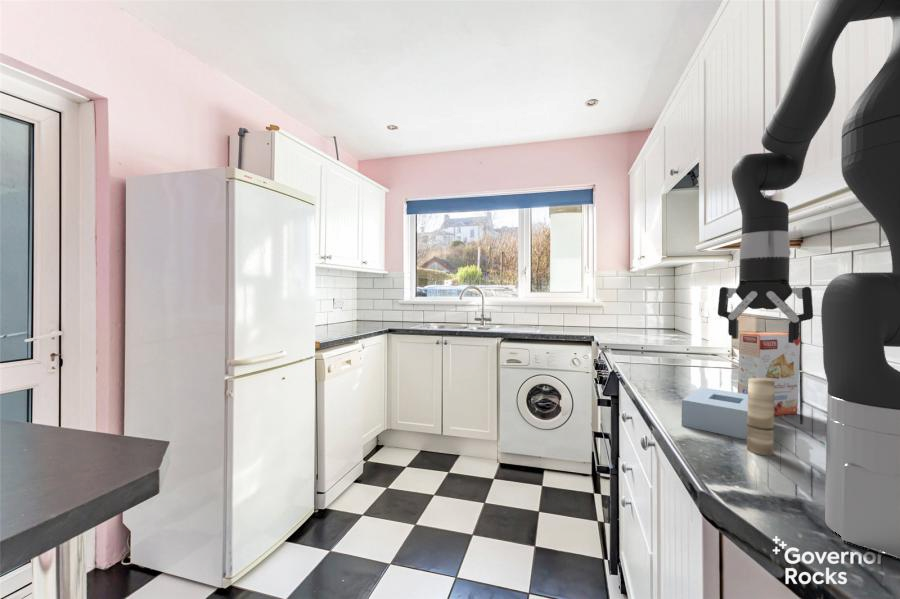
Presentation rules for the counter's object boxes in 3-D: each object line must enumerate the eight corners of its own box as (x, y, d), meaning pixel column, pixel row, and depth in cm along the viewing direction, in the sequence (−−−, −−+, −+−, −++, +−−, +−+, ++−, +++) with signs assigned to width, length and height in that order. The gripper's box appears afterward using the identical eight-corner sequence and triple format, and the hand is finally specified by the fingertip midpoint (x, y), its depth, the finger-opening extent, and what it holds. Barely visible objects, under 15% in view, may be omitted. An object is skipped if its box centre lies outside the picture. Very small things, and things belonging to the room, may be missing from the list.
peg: (772, 457, 73) (773, 383, 73) (744, 451, 76) (746, 379, 75) (774, 451, 76) (776, 380, 76) (748, 445, 79) (749, 376, 78)
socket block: (757, 441, 81) (758, 413, 81) (681, 425, 90) (681, 399, 90) (768, 422, 93) (768, 397, 93) (700, 409, 103) (700, 387, 103)
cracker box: (759, 418, 96) (761, 334, 96) (735, 411, 102) (737, 332, 102) (800, 414, 100) (801, 333, 100) (775, 407, 106) (776, 331, 106)
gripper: (715, 257, 78) (714, 338, 78) (813, 252, 68) (811, 345, 68) (723, 260, 83) (722, 336, 83) (814, 256, 73) (813, 342, 73)
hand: (762, 340), depth 75 cm, fingers open, 8 cm apart
